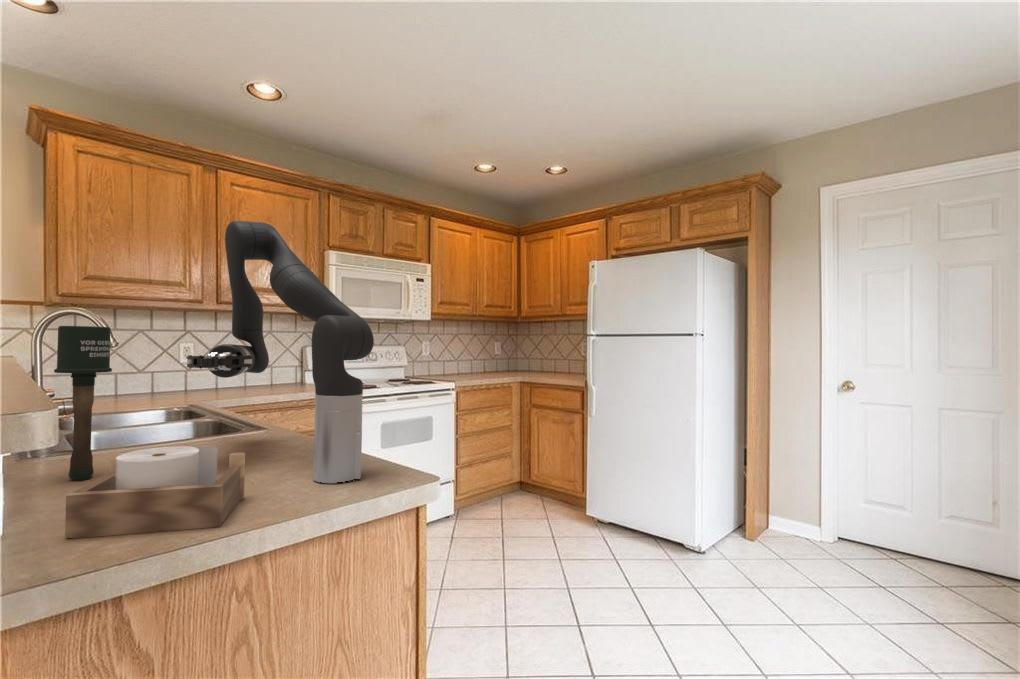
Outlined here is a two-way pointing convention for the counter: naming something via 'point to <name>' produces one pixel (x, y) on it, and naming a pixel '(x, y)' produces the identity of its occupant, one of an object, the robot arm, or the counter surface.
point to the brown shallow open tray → (152, 505)
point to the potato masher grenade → (82, 385)
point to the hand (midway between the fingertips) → (207, 362)
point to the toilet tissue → (167, 467)
